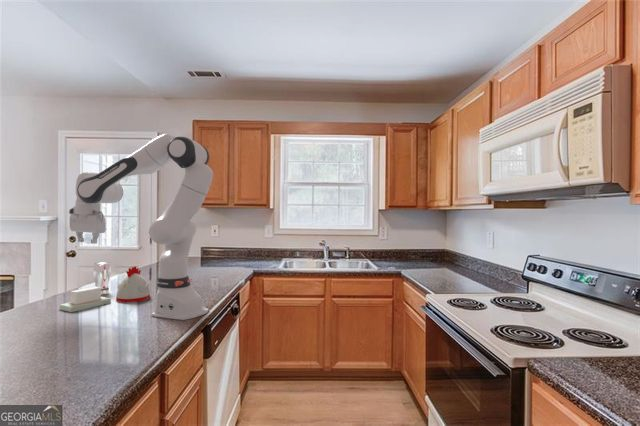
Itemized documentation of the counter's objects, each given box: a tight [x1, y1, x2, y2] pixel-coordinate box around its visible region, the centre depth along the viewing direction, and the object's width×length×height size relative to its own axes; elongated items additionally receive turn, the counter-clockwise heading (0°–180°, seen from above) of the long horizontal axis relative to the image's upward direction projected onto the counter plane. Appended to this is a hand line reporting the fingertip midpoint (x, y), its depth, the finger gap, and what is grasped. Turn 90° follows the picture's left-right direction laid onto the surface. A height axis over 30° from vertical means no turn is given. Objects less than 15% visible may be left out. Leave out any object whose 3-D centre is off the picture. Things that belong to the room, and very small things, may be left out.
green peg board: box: [59, 296, 112, 313], centre depth 144 cm, size 8×16×5 cm, turn 154°
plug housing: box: [69, 286, 109, 304], centre depth 146 cm, size 4×14×5 cm, turn 154°
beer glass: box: [93, 261, 112, 296], centre depth 165 cm, size 7×7×15 cm
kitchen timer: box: [115, 266, 151, 303], centre depth 158 cm, size 14×14×15 cm
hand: (87, 242), depth 144 cm, fingers open, 8 cm apart
